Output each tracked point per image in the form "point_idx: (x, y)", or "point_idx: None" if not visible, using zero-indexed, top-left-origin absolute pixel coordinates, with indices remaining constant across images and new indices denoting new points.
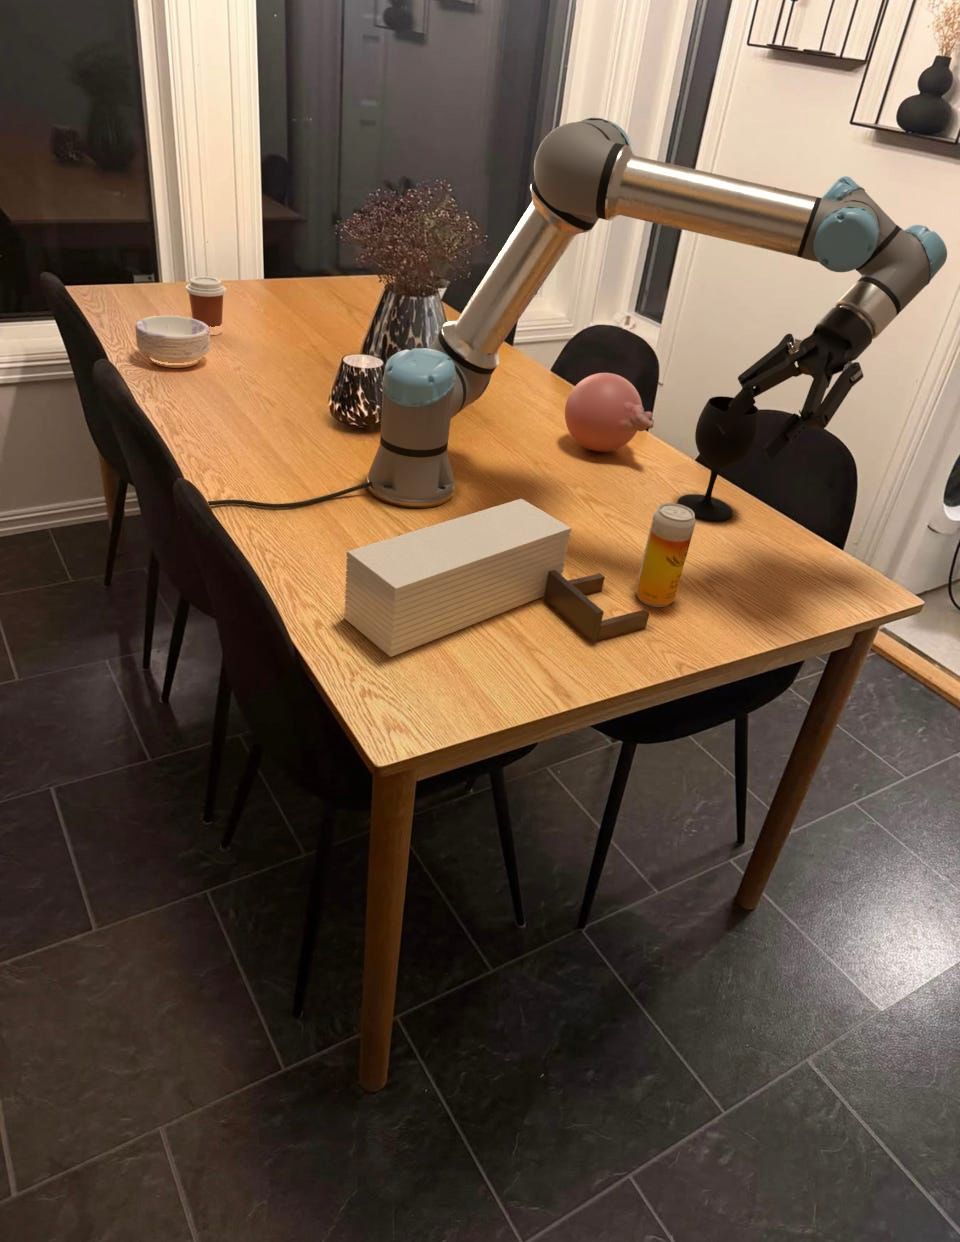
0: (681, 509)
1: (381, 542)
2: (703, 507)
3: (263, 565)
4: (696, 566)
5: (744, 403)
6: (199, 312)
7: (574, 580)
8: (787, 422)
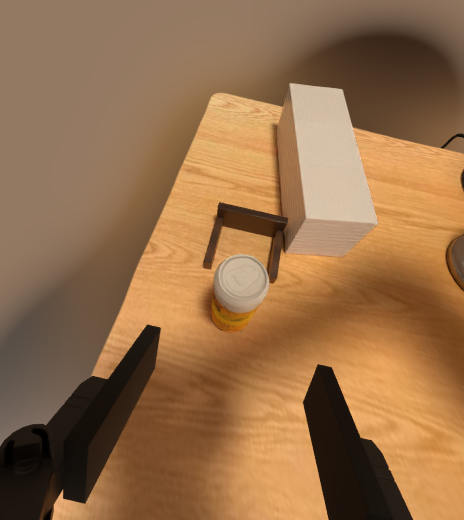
0: (245, 291)
1: (345, 106)
2: None
3: (390, 137)
4: (247, 420)
5: (340, 476)
6: None
7: (278, 250)
8: (107, 399)
